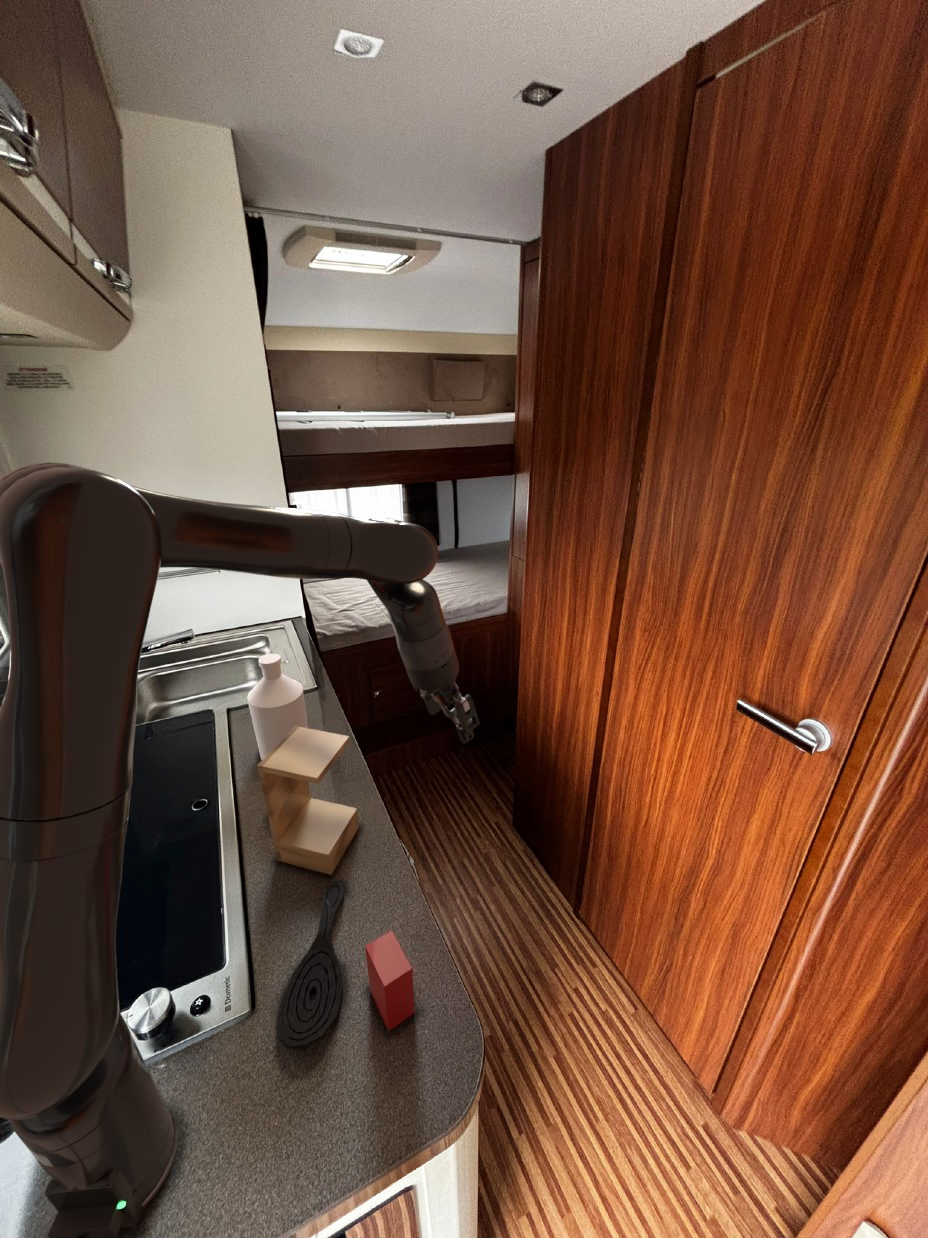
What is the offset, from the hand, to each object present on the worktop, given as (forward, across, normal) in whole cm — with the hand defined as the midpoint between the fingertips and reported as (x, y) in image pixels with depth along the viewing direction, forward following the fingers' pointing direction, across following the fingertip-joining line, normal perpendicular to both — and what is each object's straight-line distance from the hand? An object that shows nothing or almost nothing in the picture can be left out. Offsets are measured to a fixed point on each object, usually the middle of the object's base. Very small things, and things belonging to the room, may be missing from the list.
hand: (451, 724), depth 79 cm
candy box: (+21, +16, -29) cm, 39 cm away
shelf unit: (+24, -16, -26) cm, 39 cm away
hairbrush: (+20, +4, -34) cm, 40 cm away
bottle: (+26, -46, -22) cm, 58 cm away
